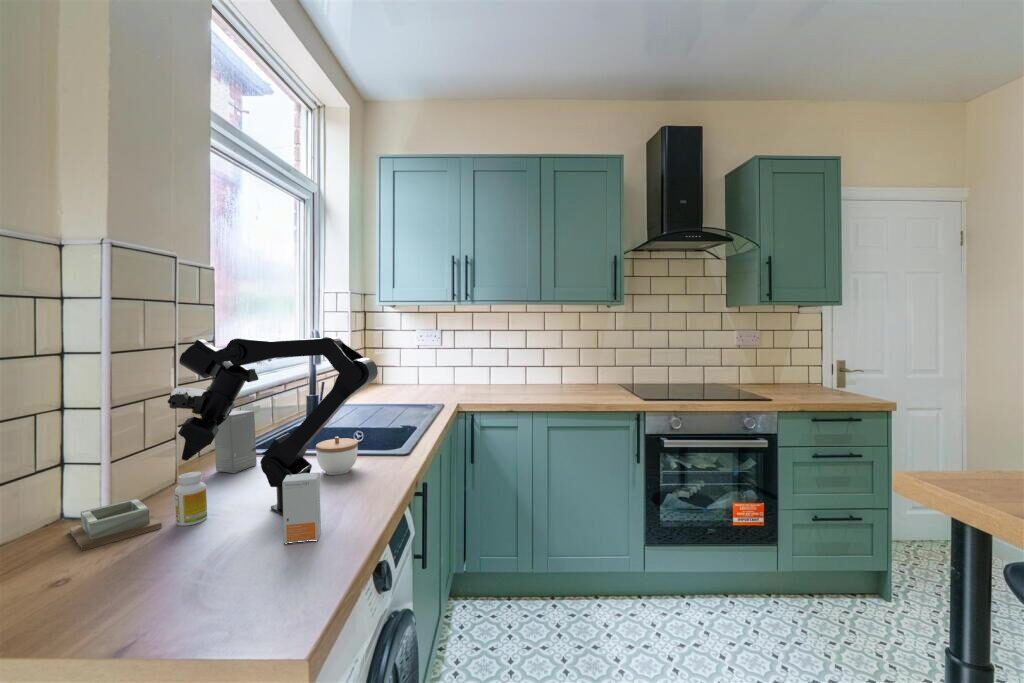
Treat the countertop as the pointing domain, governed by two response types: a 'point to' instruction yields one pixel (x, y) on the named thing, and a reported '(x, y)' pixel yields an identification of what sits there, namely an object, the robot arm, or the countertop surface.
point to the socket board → (113, 523)
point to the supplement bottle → (190, 499)
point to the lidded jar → (337, 455)
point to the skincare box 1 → (236, 442)
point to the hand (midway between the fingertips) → (191, 449)
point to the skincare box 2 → (301, 507)
